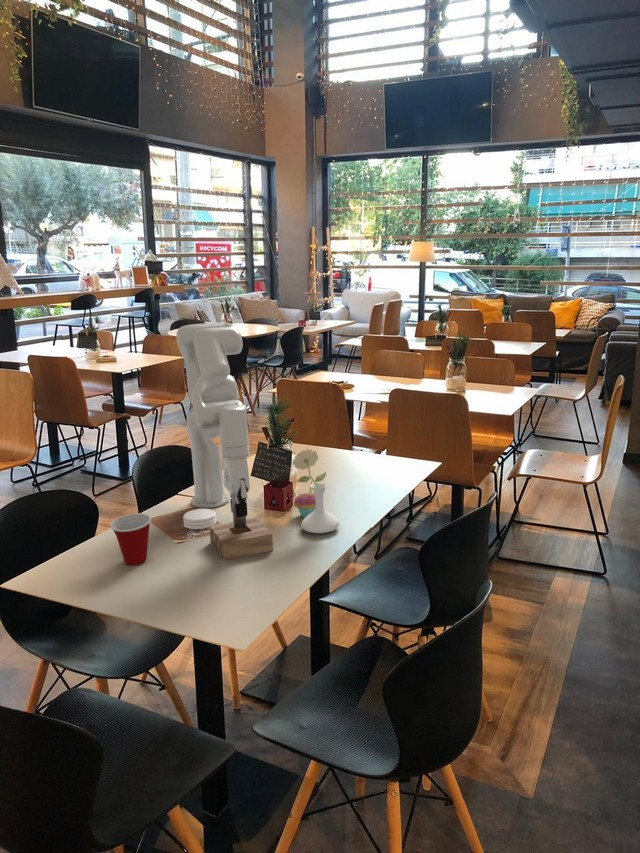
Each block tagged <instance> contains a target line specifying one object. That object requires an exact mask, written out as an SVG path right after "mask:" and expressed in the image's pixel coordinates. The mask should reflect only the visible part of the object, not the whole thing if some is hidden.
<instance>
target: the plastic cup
mask: <svg viewBox="0 0 640 853" xmlns="http://www.w3.org/2000/svg"><path fill="white" fill-rule="evenodd" d="M151 521H152V516H150V515H149V514H147V513H139V512H138V513H129V514H125V515H122V516H120V517H117V518H116V519H114V520H112V521H111V523H110V529H111V530H113V532H114V534H115V537H116V539H117V542H118V546H119V549H120V552H121V554H122V558H123V562H124V563H125V565H128V566H131V567H132V566H138V565H139V566H140V565H141V564H144V563H145V562H146V561H147V558H148V549H149V535H150V527H151Z"/></svg>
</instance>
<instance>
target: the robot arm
mask: <svg viewBox="0 0 640 853" xmlns="http://www.w3.org/2000/svg"><path fill="white" fill-rule="evenodd" d="M176 343H177V347H178V349H179V352H180V354H181V357H182V359H183V361H184V365H185V373H186V382H187V391H188V392H187V393H188V398H189V402H190V403H191V405H192V410H193V411H192V412H190V413H189V414H188V415H187V417H186V429H187V433H188V437H189V442H190V450H191V460H192V472H193V486H194V496H193V497H192V498H191V500H190V504H191V505H192V506H194V507H196V508H199V509H210V508H211V509H212V508H217V507H220V506H223V505H226V504H227V503H228V502H229V501H230V510H231V513H232V514H233V508H232V494H233V495H235V496H236V503H235V509H236V517H237V518H238V517H244V516H246V517H247V516H248V515H249V514H248V492H250V489H251V488H250V487H251V486H250V474H249V464H248V458H247V457H249V456H250V446H249V445H250V444H249V429H248V416H247V407H246V405H245V404H244V403H243V402H242V401H240V400H239V391H238V390H239V389H238V384H237V381H236V379H235V377H233V376H232V375H231V374H230V373H231V367H230V364H229V360H228V357H227V356H231V355H238V354H241V352H242V351H243V346H244V344H243V337H242V334H241V332H240V330H239V329H238V328H237V327H236V326H235V325H234V324H232V323H230V322H211V323H210V322H207V323H193V324H186V325H182V326H181V327H179V328H178V329H177V331H176ZM216 438H220V447H219V445H218V444H217V443H216V442H214V441H213V439H216ZM222 459H223V462H222ZM224 488H225V489H226V490H227V491H228V492H229V495H227V494H226V493H225V492H224ZM239 490H241V492H238V491H239ZM231 493H232V494H231ZM238 495H241V496H238ZM229 497H230V498H229Z"/></svg>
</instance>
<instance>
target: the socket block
mask: <svg viewBox="0 0 640 853" xmlns="http://www.w3.org/2000/svg"><path fill="white" fill-rule="evenodd" d="M246 523H247V526H246V527H245V528H240V529H238V528H234V522H233V521H231V522H224V523H219V524H215V525H213V526H210V528H209V537H210V538H209V539H210V544H211V545H212V546H213V547H214V549H215V550H216V552H218V554H219V556H221V558H222V559H223V560H224V561H228V560H233V559H238V558H242V557H243V558H244V557H248V556H252V555H257V554H262V553H266V552H267V553H268V552H272V551H274V540H273V532H271V531H270V530H269V529H268V528H267V526H265V525H264V524H263V523H262V522H261V521H260V520H259V519H258V518H257V517H251V518H246Z"/></svg>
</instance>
